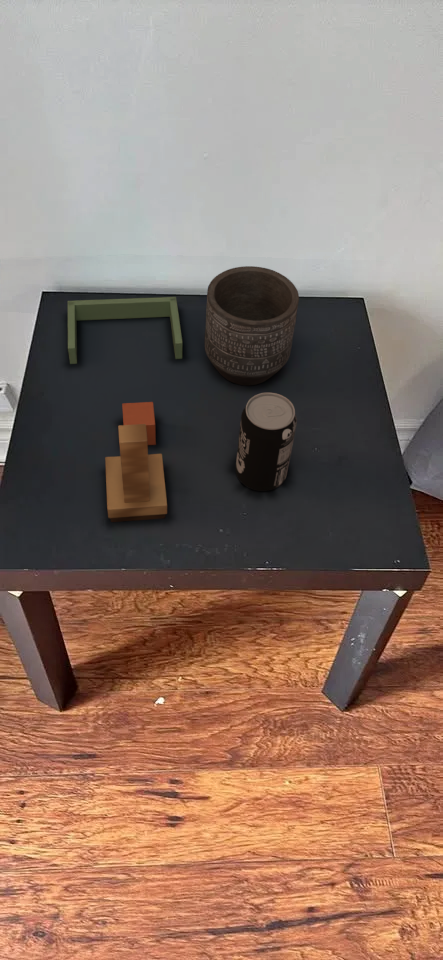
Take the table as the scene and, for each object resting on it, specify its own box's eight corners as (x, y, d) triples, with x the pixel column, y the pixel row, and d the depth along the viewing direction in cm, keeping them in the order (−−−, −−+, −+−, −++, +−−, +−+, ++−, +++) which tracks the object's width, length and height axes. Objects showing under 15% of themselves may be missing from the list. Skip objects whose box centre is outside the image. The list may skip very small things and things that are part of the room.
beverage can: (228, 460, 97) (234, 395, 88) (275, 450, 99) (286, 385, 89) (244, 499, 93) (252, 436, 84) (293, 488, 95) (307, 424, 85)
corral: (70, 364, 106) (67, 348, 104) (69, 316, 113) (67, 300, 110) (182, 358, 108) (182, 343, 106) (175, 312, 115) (175, 296, 112)
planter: (303, 379, 107) (317, 308, 97) (229, 406, 103) (236, 335, 93) (260, 327, 113) (268, 256, 103) (188, 351, 109) (190, 279, 99)
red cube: (125, 446, 98) (123, 426, 94) (123, 424, 100) (122, 403, 97) (155, 444, 98) (155, 424, 95) (153, 422, 100) (153, 401, 97)
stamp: (109, 524, 90) (100, 449, 79) (106, 472, 95) (98, 394, 84) (167, 519, 91) (166, 445, 80) (162, 468, 96) (161, 391, 85)
